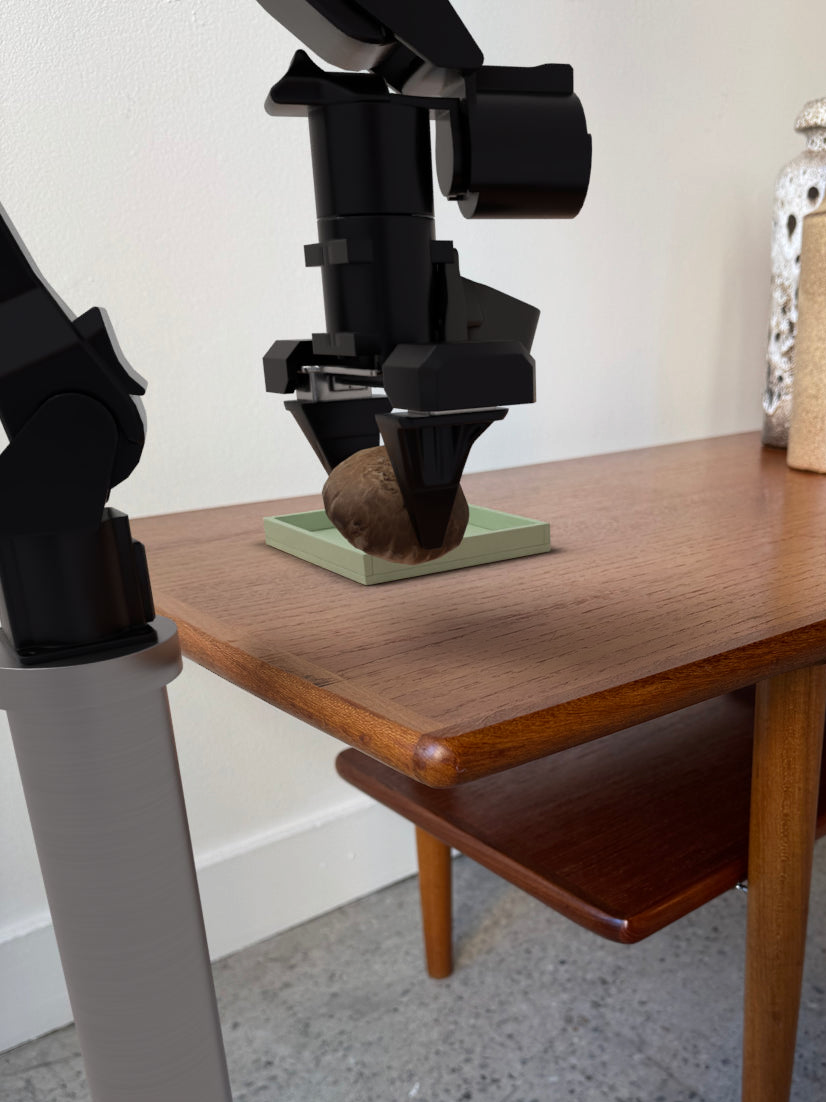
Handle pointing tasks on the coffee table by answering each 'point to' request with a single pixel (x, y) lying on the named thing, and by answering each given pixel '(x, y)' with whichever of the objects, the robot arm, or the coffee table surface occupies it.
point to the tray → (327, 548)
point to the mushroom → (382, 510)
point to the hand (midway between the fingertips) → (397, 537)
